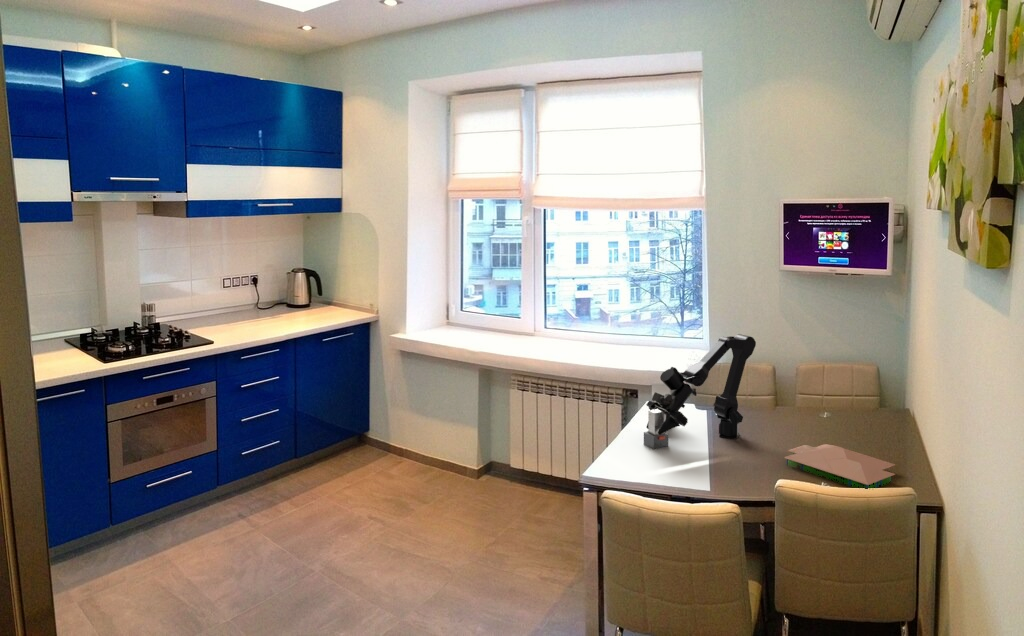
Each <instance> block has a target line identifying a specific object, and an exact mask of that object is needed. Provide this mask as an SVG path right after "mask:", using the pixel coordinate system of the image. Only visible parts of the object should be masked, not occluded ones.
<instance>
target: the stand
mask: <svg viewBox="0 0 1024 636" xmlns="http://www.w3.org/2000/svg"><path fill="white" fill-rule="evenodd" d="M669 439H670V438H669V433H666V432H664V434H663V435H658V436H653V435H651V434H649V433H648V430H647V431H644V432H643V445H644V446H645V447H648V448H649V449H651V450H659V449H665V448H669V447H670V446H669Z"/></svg>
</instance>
